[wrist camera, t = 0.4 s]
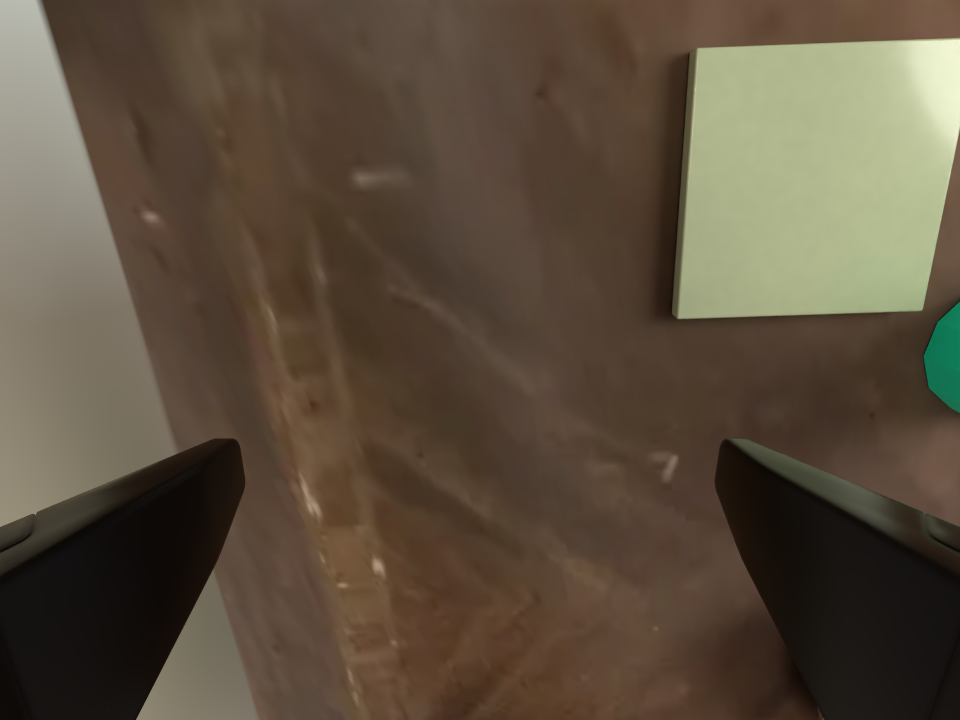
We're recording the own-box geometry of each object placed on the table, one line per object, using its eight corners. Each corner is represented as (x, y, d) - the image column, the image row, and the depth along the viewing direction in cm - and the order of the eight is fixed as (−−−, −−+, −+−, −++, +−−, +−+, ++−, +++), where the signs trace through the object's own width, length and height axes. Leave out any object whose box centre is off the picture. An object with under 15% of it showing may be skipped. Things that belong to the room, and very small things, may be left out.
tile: (909, 306, 25) (923, 311, 24) (670, 314, 25) (676, 319, 24) (962, 41, 22) (979, 36, 21) (689, 51, 22) (696, 47, 21)
